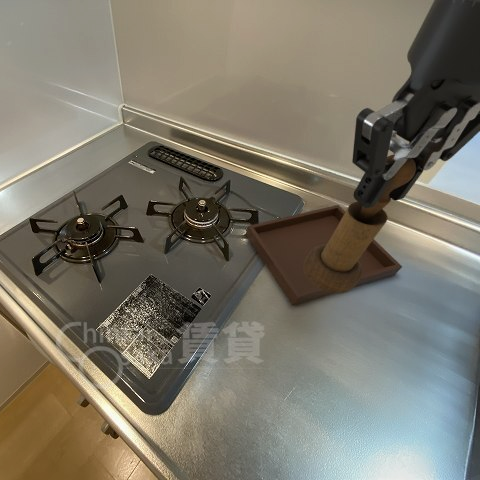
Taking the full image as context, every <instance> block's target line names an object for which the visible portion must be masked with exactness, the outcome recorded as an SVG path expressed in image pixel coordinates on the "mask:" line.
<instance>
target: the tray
mask: <svg viewBox="0 0 480 480" xmlns="http://www.w3.org/2000/svg"><path fill="white" fill-rule="evenodd" d="M345 212H346V210H344V209H343V207H341V206H340V205H339V204H335V205H331V206H326V207H323V208H319V209H314V210H310V211H305V212H301V213H297V214H293V215H289V216H284V217H280V218H276V219H272V220H267V221H263V222H258V223H255V224H249V225H247V228H246V232H245V237H246V239H248V242H250V244H251V245H252V247H253V248H254V250H255V251H256V253H257V254H258V255H259V257H260V259H261V260H262V262H263V263H264V265H265V266H266V268H267V269H268V271H269V272H270V274H271V275H272V276H273V278H274V280H275V281H276V283H277V284H278V286H279V287H280V289H281V290H282V291H283V293H284V295H285V296H286V298H287V299H288V301H289V302H290V304H292V306H295V305H299V304H304V303H306V302H309V301H313V300H316V299H320V298H323V297H326V296H329V295H333V294H334V293H330V292H327V291H324V290H322V289H320V288H318V287H316V286H315V285H314V284H313V283H311V282H310V281H309V280H308V278H307V277H306V275H305V274H304V271H303V263H304V261H305V259H306V257H307V255H308V254H309V252H310V251H311V250H312V249H313V248H314V247H316V246H318V245H323V244H327V243H328V241H329V240H330V238H331V236H332V235H333V233H334V231H335V230H336V228H337V226H338V224H339V223H340V221H341V219H342V217H343V216H344V214H345ZM359 262H360V263H361V266H362V271H363V272H362V276H361V278H360V279H359V281H358V282H357V283H356V285H355V286H354V287H353V288H356V287H360V286H364V285H366V284H370V283H374V282H378V281H381V280H384V279H387V278H391V277H394V276H396V275H397V273H398V272H399V271H400V270H401V269H402V268H403V265H402V264H400V263H399V261H397V260H396V259H395V257H393V256H392V254H390V253H389V252H388V251H387V250H386V249H385V248H384V247H383V246H382V245H381V244H380V243H379V242H377V241H376V239H375V238H374V239H373V240H372V242H371V243H370V244H369V246H368V247H367V249H366V250H365V251H364V253H363V254H362V255H361V257H360V258H359ZM353 288H352V289H353Z"/></svg>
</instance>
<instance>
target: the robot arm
mask: <svg viewBox="0 0 480 480" xmlns="http://www.w3.org/2000/svg"><path fill="white" fill-rule="evenodd" d="M406 58H407V61H408V63H409V65H410V75H409V77H408V78H407V79H406V80H405V82H404V83H403V85H401V87H400V88H399V89H398V90H397V92H395V94H394V96H393V97H392V100H391V103H389V104H387V105H385V106H384V107H382V108H380V109H378V110H376V111H375V110H373V109H371V108H369V107H366V108H363V109H362V110H361V111H360V112H359V113H358V114H357V116H356V119H355V127H354V139H353V148H352V150H353V151H352V160H351V162H352V164H353V165H355V166H356V167H358V169H360V170H361V171H362V172H364V174H363V175H362V176H361V178H360V180H359V182H358V184H357V186H356V188H355V189H354V191H353V198H354V200H355V201H356V202H359V203H360V204H361V205H362V206H363V207H365V208H369V207H373V206H375V205H376V203H377V202H378V200H379V199H380V197H381V196H382V194H383V193H384V191H385V190H386V188H387V187H388V185H389V184H390V182H391V181H392V179H393V178H392V177H393V176H394V175H395V174H396V173H397V172H398V170H399V169H400V168H401V167H402V165H403V164H404V163H405V162H406V160H407V159H409V158H412V159H413V160H414V162H415V164H416V171H415V174H414V176H413V178H412V179H411V180H410V181H409V182H407V183H406V184H404V185H402V186H400V187H398V188H395V189H393V190H392V191H391V192H390V193H389V196H390V198H391V201H400V200H403V199H405V197H406V196H407V195H408V193H409V192H410V190H411V189H412V188H413V186H414V185H415V183H416V182H417V181H418V179H419V178H420V177H421V175H422V174H423V173H424V171H428V170H430V169H432V168H433V167H434V166H435V165H436V164H437V162H438V161H439V160H441V161H443V162H448V161H450V160H451V159H452V158H453V157H454V156H455V155H456V154H457V153H458V152H459V151H460V150H462V149H463V148H464V147H465V146H466V145H467V144H468V143H469V142H470V141H472V140H473V138H475V136H476V135H477V134H479V133H480V0H433V1H432V4H431V6H430V8H429V10H428V12H427V14H426V16H425V18H424V20H423V21H422V24H421V25H420V27H419V29H418V31H417V33H416V35H415V37H414V39H413V41H412V43H411V45H410V47H409V49H408V51H407V54H406ZM398 137H400V138H401V139H400V138H398ZM402 139H403V140H405V141H406V142H405V141H403V140H402ZM407 142H408V143H407ZM389 152H392V154H394V157H393V158H392V160H391V161H390V162H389V163H387V162H386V160H387V157H388V156H389Z"/></svg>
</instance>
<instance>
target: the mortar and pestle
mask: <svg viewBox="0 0 480 480" xmlns="http://www.w3.org/2000/svg"><path fill="white" fill-rule="evenodd" d="M393 157H394V153H392V154H390V155H388V156H387V160H386V162H387V163H389V162H390V161H391V160H392V158H393ZM415 171H416V164H415V162H414V160H413V159H412V158H409V159H407V160H406V162H405V163H404V164H403V165H402V167H401V168H400V169H399V170H398V172H397V173H396V174H395V175H394V176H393V177H392V178H393V179H392V181H391V182H390V184H389V185H388V187H387V188H386V190H385V191H384V193H383V194H382V196H381V197H380V199H379V200H378V202H377V203H376V205H375V206H373V207H369V208H365V207H363V206H362V205H361V204H360V203H359V202H358V201H354V202H352V203H350V204H349V205H348V207H347V208H346V210H345V214H344V216H343V217H342V219H341V221H340V223H339V224H338V226H337V228H336V230H335V231H334V233H333V235H332V236H331V238H330V240H329V241H328V243H327V244H323V245H318V246H316V247H314V248H313V249H312V250H311V251H310V252H309V254H308V255H307V257H306V259H305V261H304V263H303V271H304V274H305V275H306V277H307V278H308V280H309V281H310V282H311V283H313V284H314V285H315V286H316V287H318V288H320V289H322V290H324V291H327V292H330V293H333V294H344V293H348V292H350V291H351V290H353V287H354V286H355V285H356V283H357V282H358V281H359V279H360V278H361V276H362V272H363V271H362V266H361V263H360V262H359V258H360V257H361V255H362V254H363V253H364V251H365V250H366V249H367V247H368V246H369V244H370V243H371V242H372V240H373V239H374V240H375V238H376V236H377V235H378V234H379V232H380V231H381V230H382V228H383V227H384V226H385V224H386V223H387V222H388V214H387V212H386V211H385V210H384V208H385V207H386V206H387V205H388V204H390V203H391V201H392V199H391V198H390V196H389V193H390V192H391V191H392V190H393V189H395V188H398V187H400V186H402V185H404V184H406V183H407V182H409V181H410V180H411V179H412V178H413V176H414V174H415ZM354 288H355V287H354Z"/></svg>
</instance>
